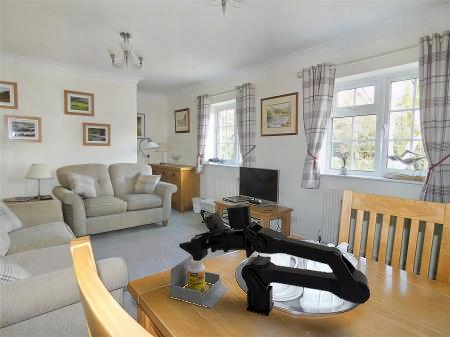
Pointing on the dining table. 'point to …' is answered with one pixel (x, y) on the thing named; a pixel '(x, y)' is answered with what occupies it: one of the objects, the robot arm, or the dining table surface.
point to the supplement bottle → (196, 276)
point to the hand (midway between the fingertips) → (187, 240)
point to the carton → (208, 299)
